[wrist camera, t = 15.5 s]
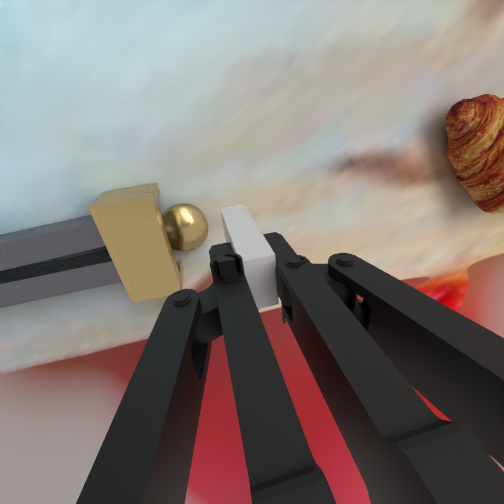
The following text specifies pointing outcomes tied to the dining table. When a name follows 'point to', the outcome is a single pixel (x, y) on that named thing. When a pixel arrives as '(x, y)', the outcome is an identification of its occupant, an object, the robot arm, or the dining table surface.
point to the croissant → (478, 149)
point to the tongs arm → (49, 242)
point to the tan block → (138, 241)
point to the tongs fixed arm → (95, 263)
